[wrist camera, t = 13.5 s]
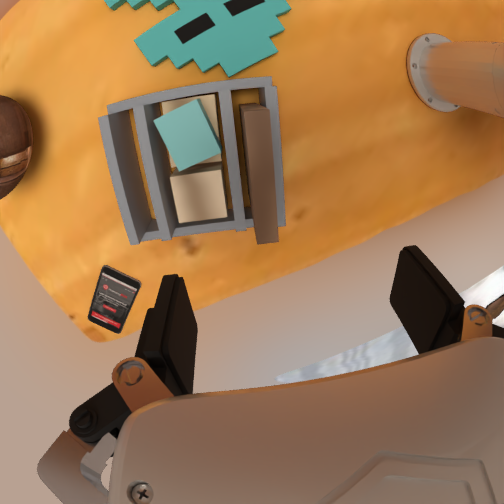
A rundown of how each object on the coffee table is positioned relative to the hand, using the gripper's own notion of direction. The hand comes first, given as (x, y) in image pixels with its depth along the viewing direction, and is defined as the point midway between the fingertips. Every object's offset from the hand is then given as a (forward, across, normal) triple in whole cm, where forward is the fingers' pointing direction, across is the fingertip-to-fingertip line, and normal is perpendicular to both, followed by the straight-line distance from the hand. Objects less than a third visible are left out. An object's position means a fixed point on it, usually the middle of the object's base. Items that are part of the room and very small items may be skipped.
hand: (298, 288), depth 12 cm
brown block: (+28, 0, 0) cm, 28 cm away
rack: (+28, +7, 0) cm, 29 cm away
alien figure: (+29, +3, -20) cm, 35 cm away
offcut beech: (+28, +7, +4) cm, 29 cm away
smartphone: (+29, +27, +22) cm, 46 cm away
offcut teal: (+24, +7, -4) cm, 26 cm away
